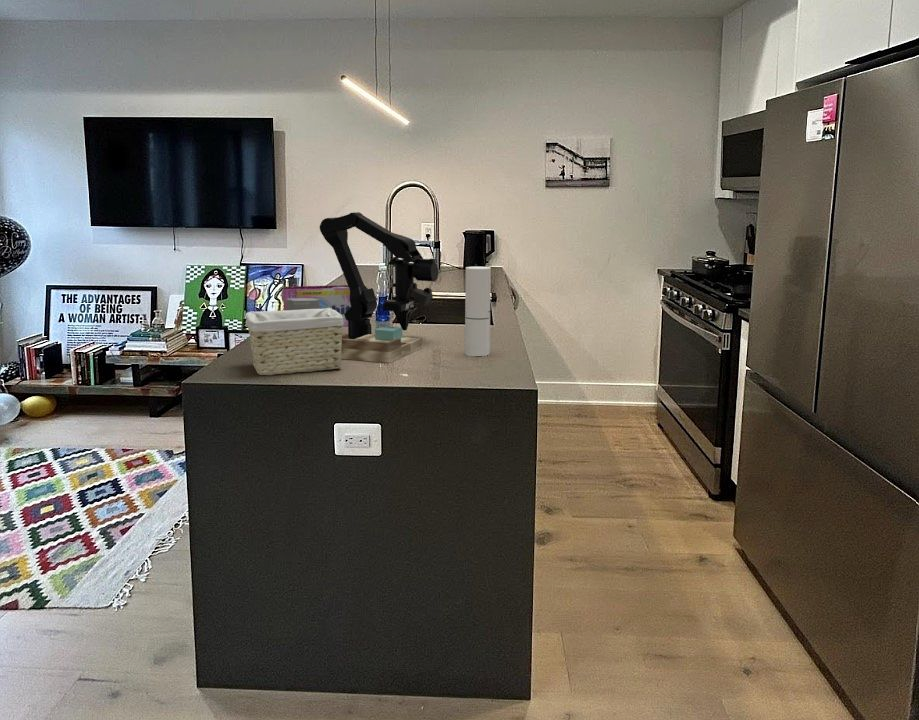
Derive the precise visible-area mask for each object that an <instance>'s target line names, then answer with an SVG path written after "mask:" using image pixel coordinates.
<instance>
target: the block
mask: <svg viewBox="0 0 919 720" xmlns="http://www.w3.org/2000/svg"><path fill="white" fill-rule="evenodd" d="M374 335H375V340H386V341H391V340H394V339H397V338H399V339H400V338H402V337H403V330H402V328H401V327H398V326H397V327H396V326H381V327H379V328H376V329H375V330H374Z"/></svg>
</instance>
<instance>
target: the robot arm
mask: <svg viewBox="0 0 919 720" xmlns="http://www.w3.org/2000/svg"><path fill="white" fill-rule="evenodd" d="M353 228H356V229H358V230H360V231H361V232H363V233H365V234H366V235H367V236H369V237H371V238H373V239H375V241H377V242H379V243H381V244H382V245H383V246H384V247H386V250H388V252H390V253H391V254H392V256H393V257H392V259H391V260H390V261H388V263H387V265H388V266H389V265H390V266H391V265H392V266H394V283H392V288H394V296H392V299H387V300H385V301H384V302H383V303H382V311H386V312H387V311H389V312H393V314H394V316H395V317H396V319H397V322H398V323H399V326H400V328H402V331H407V330H408V326H409V323H410V321H411V316H412V314H413V312H414V311H415V310H416V309H418V306H414V304H419V305H421V306H424V307H425V306H427V305H428V306H429V305H430V301H431V300H432V299H434V297H433V295H434V294H433V291H432V290H433V289H432V288H430V287H425V288H424V289H422V288H418V284H417V282H415V281H414V279H415V280H416V281H418V282H436V281H437V280H438V276H439V271H440V269H439V267H438V264H437V262H436V258H424V257H423V256H422V255H421V253H420V252H419V250H418V248H417V245H416V242H415V240H414V239H412V238H410V237H407V236H404V235H402V234H398V233H395V232H392V231H390V230H388V229H387V228H386V227H383V226H382V225H380V224H379V223H377V222H375V221H373V220H372V219H370V218H368V217H367V216H365V215H363V213H361V212H360V211H359V212H349V214H345V215H342V216H339V217H327V218H326V217H325V218H324V219H322V221H321V222H320V224H319V231H320V234H321V235H322V236H323V239H324V240H325V241H326V242H327V243H328V244H329V246H331V248H333V251H334V254H335V256H336V259H337V261H338V263H339V266H340V269H341V271H342V274H343V277H344V279H345V282H346V283H347V284H346V285H348V287H349V289H350V304H351V307H350V308H349V310H348V311H347V312H346V313H345V314H344V315H345V318H346V320H348V327H347V332H348V333H347V334H348V338H349V339H356V338H359V337H362V336H365V335H368V334H372V323H371V318H373V314H374V312H375V311H376V310H377V307H378V302H377V301H378V297H377V296H376V294H375V290H374V289H373V287H371V288H368V287H367V286H366V285H365V284H364V281H363V278H362V276H361V274H360V271H359V268H358V266H357V264H356V261H355V259H354V256H353V253H352V251H351V248H350V246H349V244H348V239H349V238H348V237H349V232H348V230H351V229H353Z"/></svg>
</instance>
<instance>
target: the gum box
mask: <svg viewBox="0 0 919 720" xmlns="http://www.w3.org/2000/svg"><path fill="white" fill-rule="evenodd" d="M280 297H281V300H282V302H283V303H282V305H283V311H287V308H286V299H291V298H314V299H317V300H319V309H325V308H331V309H333V310H335V311H337V312H338V313H339V314H341V315H342V316H343V323H344V324H343V326H342V328H348V320H346V318H345V315H344V314H345V313H346V312H347V311H348V310H349V308H350V307H351V304H350V289H349V287H348V284H341V285H340V284H339V285H338V284H337V285H335V284H334V285H300V286H299V285H297V286H283V287H282V290H281V294H280Z"/></svg>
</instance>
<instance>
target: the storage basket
mask: <svg viewBox="0 0 919 720" xmlns="http://www.w3.org/2000/svg"><path fill="white" fill-rule="evenodd" d="M343 324H344V323H343V316H342V315H341V314H339V313H338V312H337V311H335V310H333V309H331V308H325V309H303V310H287V311H284V310H267V311H266V310H265V311H263V310H262V311H251V310H250V311H249V312H246V313H245V326H246V327H247V329H248V335H249V342H250V348H251V354H252V362H253V364H252V365H253V367H254V369H255V371H256V373H257V374H258V375H259V376H272V375H273V376H274V375H284V374H286V375H287V374H294V373H295V374H296V373H310V372H311V373H312V372H317V371H318V372H319V371H326V370H337V369H341V368H342V359H341V345H342V335H343V334H342V333H343V328H344V327H342V326H343Z"/></svg>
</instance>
